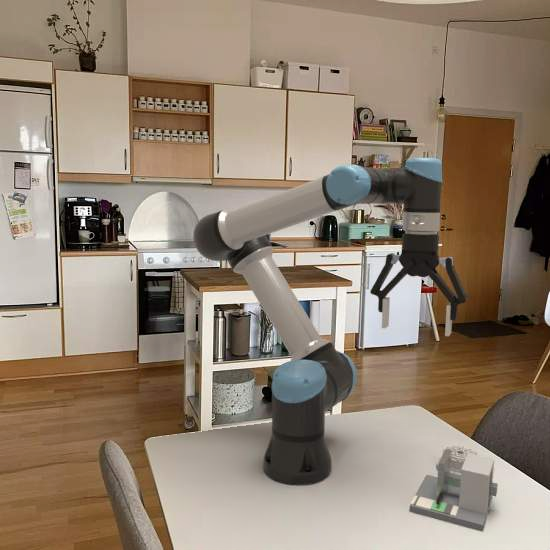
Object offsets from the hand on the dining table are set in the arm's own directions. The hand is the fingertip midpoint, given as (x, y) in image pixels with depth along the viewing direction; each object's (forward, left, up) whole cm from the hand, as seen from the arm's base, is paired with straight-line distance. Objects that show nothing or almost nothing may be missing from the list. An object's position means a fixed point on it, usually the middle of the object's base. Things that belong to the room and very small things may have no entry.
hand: (415, 331), depth 121 cm
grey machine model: (+14, -11, -30) cm, 34 cm away
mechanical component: (+10, +5, -32) cm, 34 cm away
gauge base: (+11, -10, -32) cm, 35 cm away
